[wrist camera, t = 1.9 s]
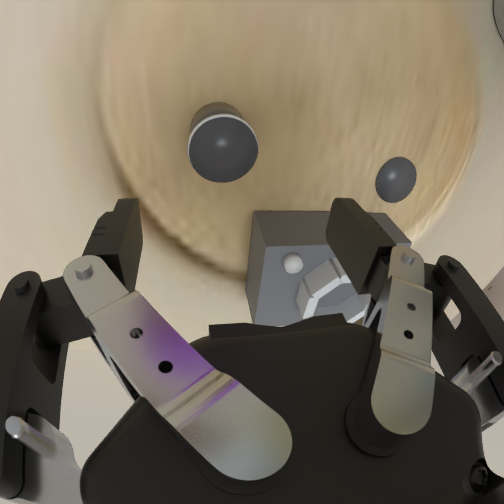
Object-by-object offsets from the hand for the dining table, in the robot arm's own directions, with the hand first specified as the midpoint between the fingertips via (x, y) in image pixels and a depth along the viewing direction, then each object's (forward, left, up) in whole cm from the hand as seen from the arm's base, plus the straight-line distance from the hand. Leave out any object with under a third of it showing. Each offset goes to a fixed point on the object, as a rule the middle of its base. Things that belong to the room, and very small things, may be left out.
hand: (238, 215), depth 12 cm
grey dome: (-20, +4, -16) cm, 26 cm away
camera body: (-12, +14, -15) cm, 24 cm away
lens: (0, 0, -15) cm, 15 cm away
